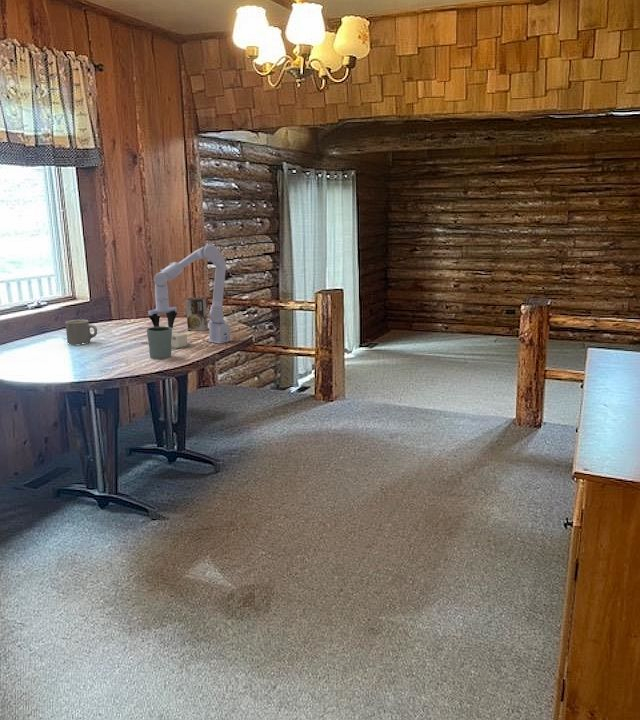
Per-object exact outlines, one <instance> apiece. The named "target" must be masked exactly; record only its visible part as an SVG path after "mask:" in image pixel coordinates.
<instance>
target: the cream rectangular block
mask: <svg viewBox="0 0 640 720" xmlns="http://www.w3.org/2000/svg"><path fill="white" fill-rule="evenodd" d="M187 343H188V336H187V334H186V333H181V332H174V331H172V340H171V346H174V347H182V346H187Z"/></svg>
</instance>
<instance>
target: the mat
mask: <svg viewBox="0 0 640 720" xmlns="http://www.w3.org/2000/svg"><path fill="white" fill-rule="evenodd" d="M140 343H141V344H143V343H146V344H145V345H149V342H148V340H146V341H141V342H140ZM191 345H193V346H194V344H193V343H188V342H187V346H188V347H191ZM187 346H182V347H184V348H187ZM182 347H174V346H171V350H179V349H183V348H182ZM178 348H179V349H178Z"/></svg>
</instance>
